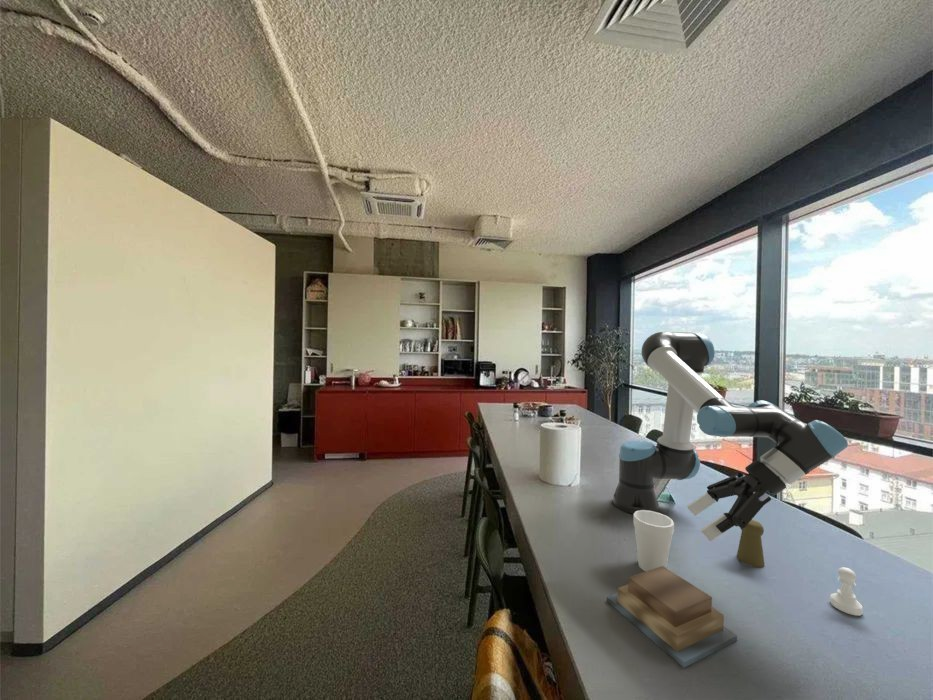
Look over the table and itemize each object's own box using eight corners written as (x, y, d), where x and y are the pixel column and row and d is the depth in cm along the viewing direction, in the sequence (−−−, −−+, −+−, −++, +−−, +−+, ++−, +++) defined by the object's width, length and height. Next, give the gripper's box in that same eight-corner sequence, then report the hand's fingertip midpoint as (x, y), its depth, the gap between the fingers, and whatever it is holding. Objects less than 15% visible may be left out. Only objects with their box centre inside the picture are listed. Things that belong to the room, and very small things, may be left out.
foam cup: (625, 557, 97) (626, 510, 97) (657, 556, 98) (658, 509, 98) (645, 579, 88) (647, 527, 88) (680, 578, 88) (682, 527, 88)
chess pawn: (825, 597, 83) (826, 559, 83) (853, 603, 81) (854, 565, 81) (838, 612, 78) (839, 572, 78) (868, 619, 77) (870, 578, 77)
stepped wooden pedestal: (606, 601, 80) (607, 570, 80) (655, 583, 86) (656, 555, 86) (683, 668, 63) (685, 629, 63) (737, 640, 70) (738, 605, 70)
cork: (758, 557, 99) (759, 518, 99) (769, 569, 93) (770, 528, 93) (733, 552, 101) (734, 514, 101) (741, 564, 95) (743, 524, 95)
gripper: (817, 506, 71) (726, 563, 76) (763, 468, 94) (696, 513, 99) (785, 476, 73) (698, 533, 78) (739, 446, 96) (675, 491, 101)
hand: (697, 522), depth 89 cm, fingers open, 13 cm apart
